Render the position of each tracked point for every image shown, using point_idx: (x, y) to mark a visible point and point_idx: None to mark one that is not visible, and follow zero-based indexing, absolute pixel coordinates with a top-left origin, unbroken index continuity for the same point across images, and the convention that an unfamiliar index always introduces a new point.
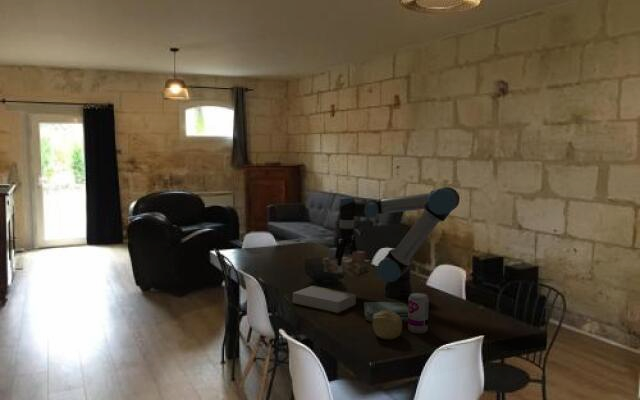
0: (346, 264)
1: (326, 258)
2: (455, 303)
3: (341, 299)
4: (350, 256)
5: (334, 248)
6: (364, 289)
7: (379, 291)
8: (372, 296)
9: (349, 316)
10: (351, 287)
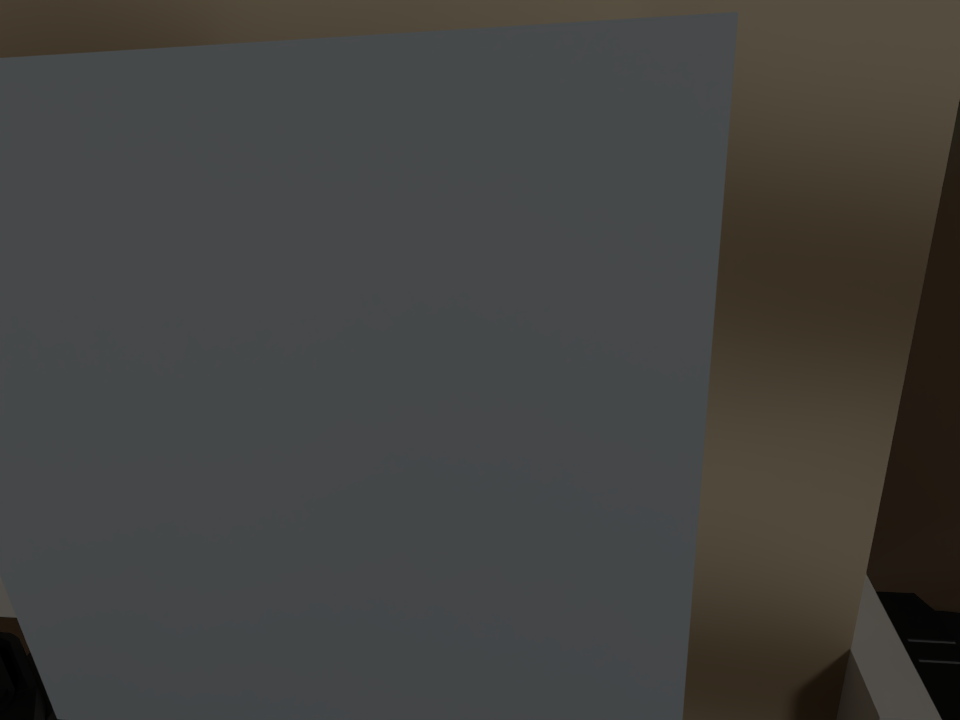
0: None
1: (112, 36)
2: None
3: (5, 597)
4: (856, 712)
5: (424, 382)
6: (931, 371)
7: (926, 550)
8: None
9: (21, 639)
10: (954, 163)
